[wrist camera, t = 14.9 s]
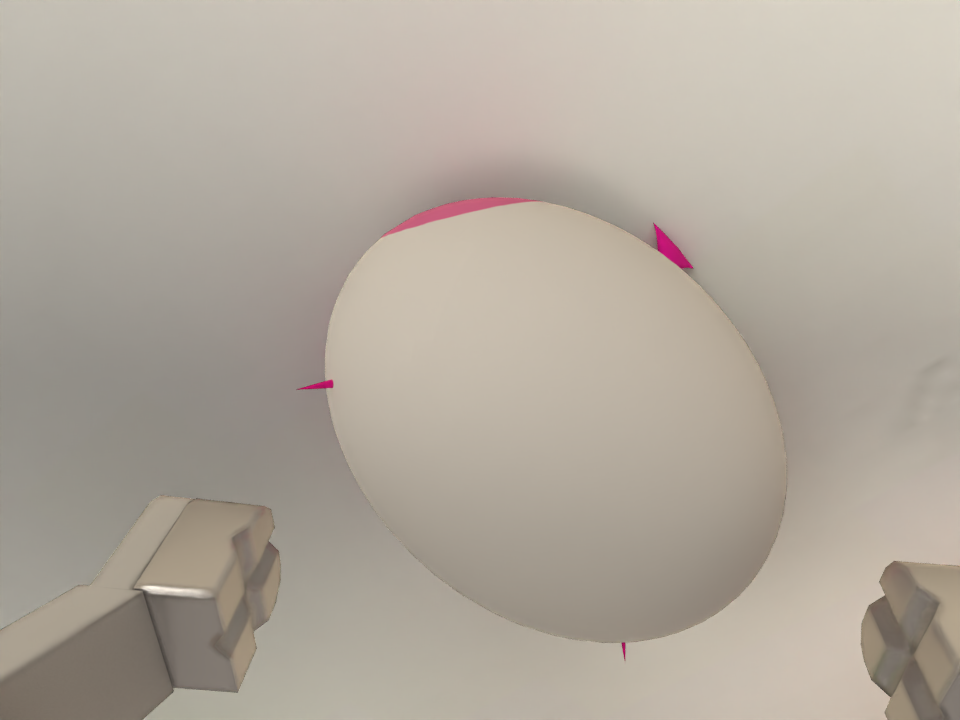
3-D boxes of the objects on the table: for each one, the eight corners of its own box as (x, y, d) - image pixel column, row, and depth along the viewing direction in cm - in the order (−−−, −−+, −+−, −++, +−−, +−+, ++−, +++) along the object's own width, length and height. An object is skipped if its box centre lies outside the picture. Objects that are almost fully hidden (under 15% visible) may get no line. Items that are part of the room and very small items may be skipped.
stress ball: (380, 205, 16) (167, 443, 13) (635, -26, 9) (320, 351, 6) (604, 424, 18) (470, 674, 15) (942, 365, 11) (829, 795, 8)
